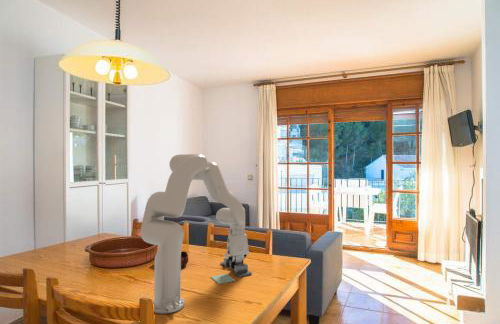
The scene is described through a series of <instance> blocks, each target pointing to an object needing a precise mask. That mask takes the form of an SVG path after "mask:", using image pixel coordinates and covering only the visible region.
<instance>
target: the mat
mask: <svg viewBox="0 0 500 324" xmlns="http://www.w3.org/2000/svg"><path fill="white" fill-rule="evenodd" d="M210 278H211V279H212V280H213V281H215V282H216V283H217V284H218V285H222V284H228V283H232V281H233V282H236V280H235V279H234V278H233V277H231V276H230V275H229V274H227V273H225V274H218V275H213V276H210Z"/></svg>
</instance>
